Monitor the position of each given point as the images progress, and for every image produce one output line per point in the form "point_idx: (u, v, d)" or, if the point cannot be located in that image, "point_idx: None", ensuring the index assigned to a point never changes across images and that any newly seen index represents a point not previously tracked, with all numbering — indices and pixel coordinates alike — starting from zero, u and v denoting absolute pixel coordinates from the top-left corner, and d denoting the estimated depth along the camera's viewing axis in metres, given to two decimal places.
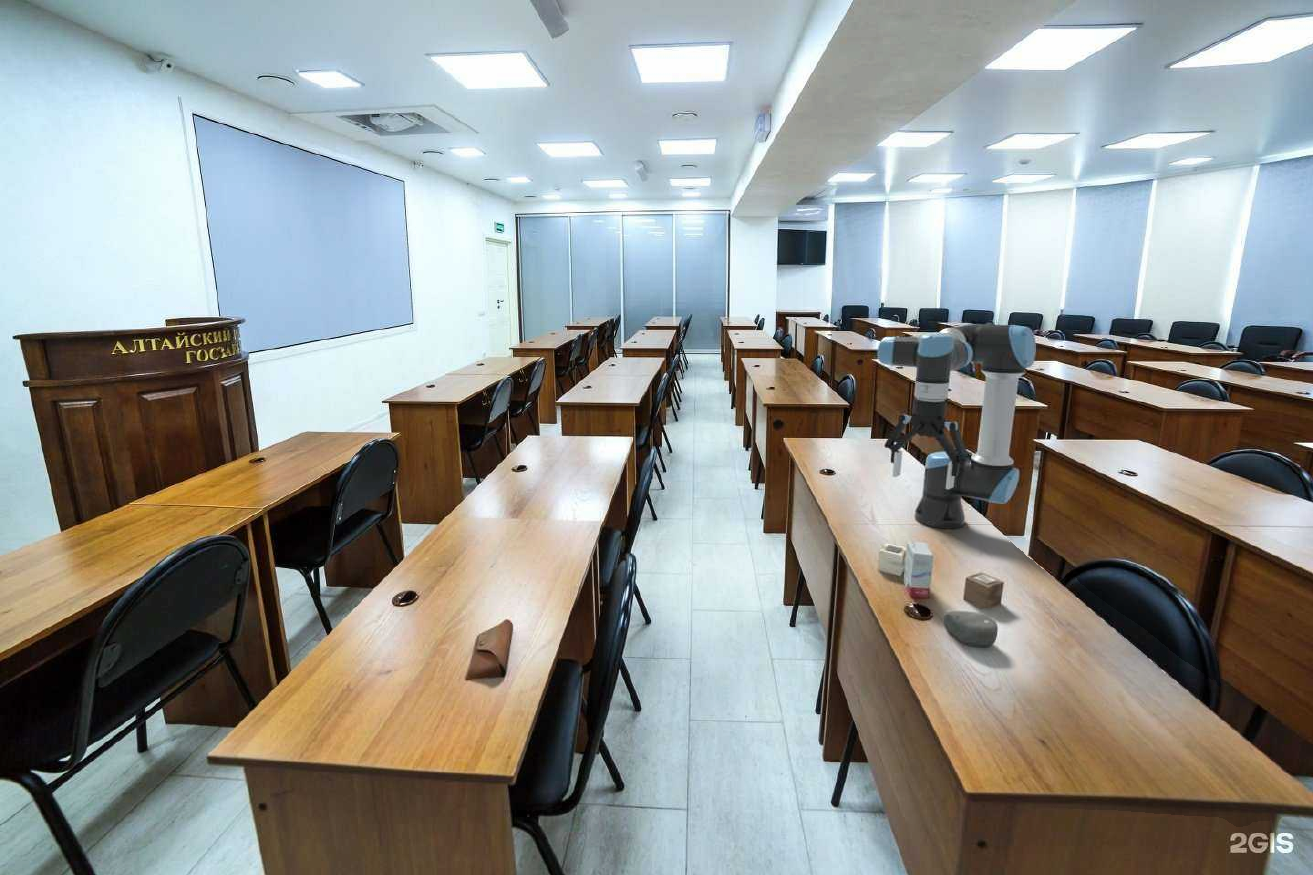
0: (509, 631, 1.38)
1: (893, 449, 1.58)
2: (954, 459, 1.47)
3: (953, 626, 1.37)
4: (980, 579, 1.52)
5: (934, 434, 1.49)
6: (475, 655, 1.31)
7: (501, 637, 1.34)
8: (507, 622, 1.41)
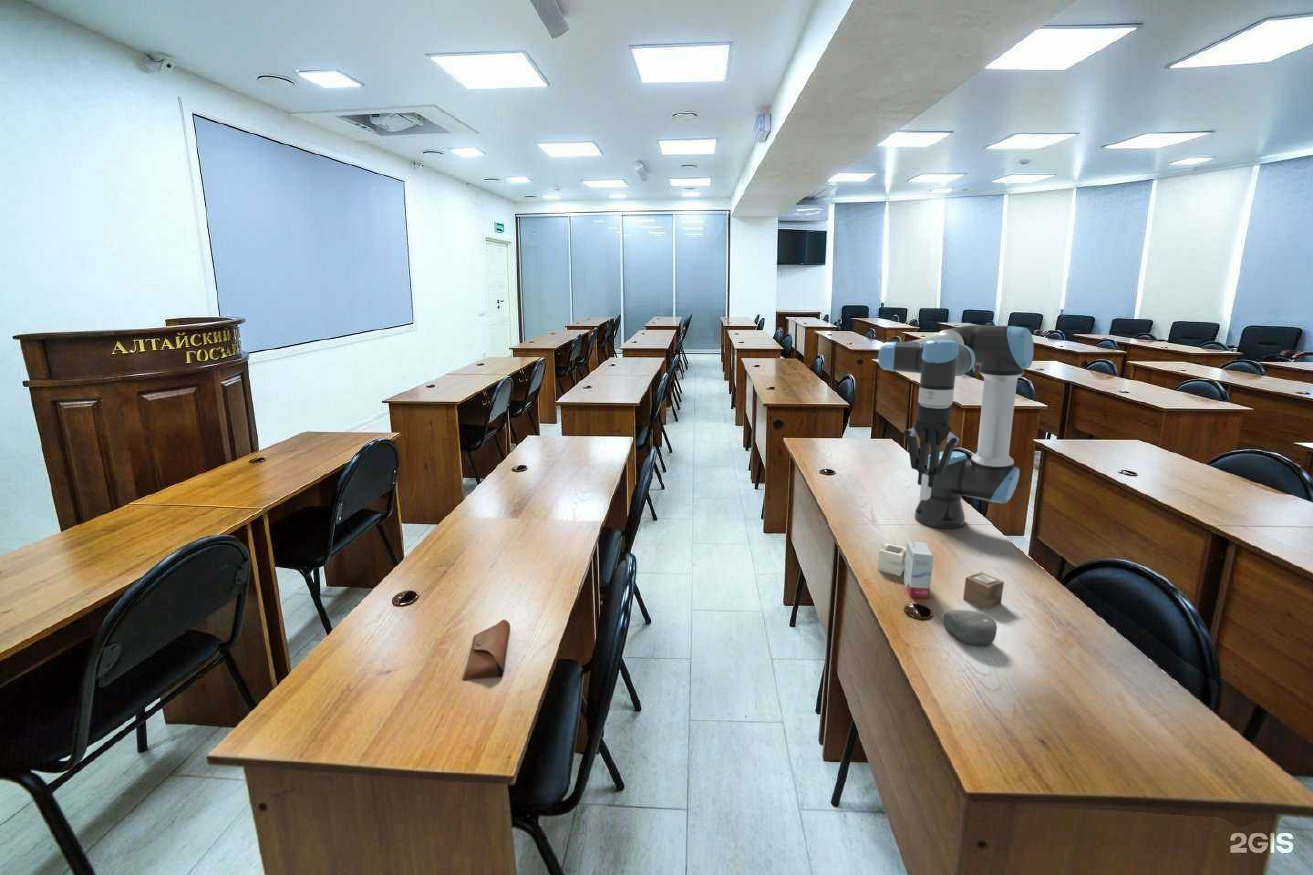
0: (506, 631, 1.38)
1: (920, 470, 1.52)
2: (932, 471, 1.50)
3: (953, 625, 1.38)
4: (980, 579, 1.52)
5: (932, 442, 1.48)
6: (472, 655, 1.31)
7: (498, 638, 1.34)
8: (504, 622, 1.41)
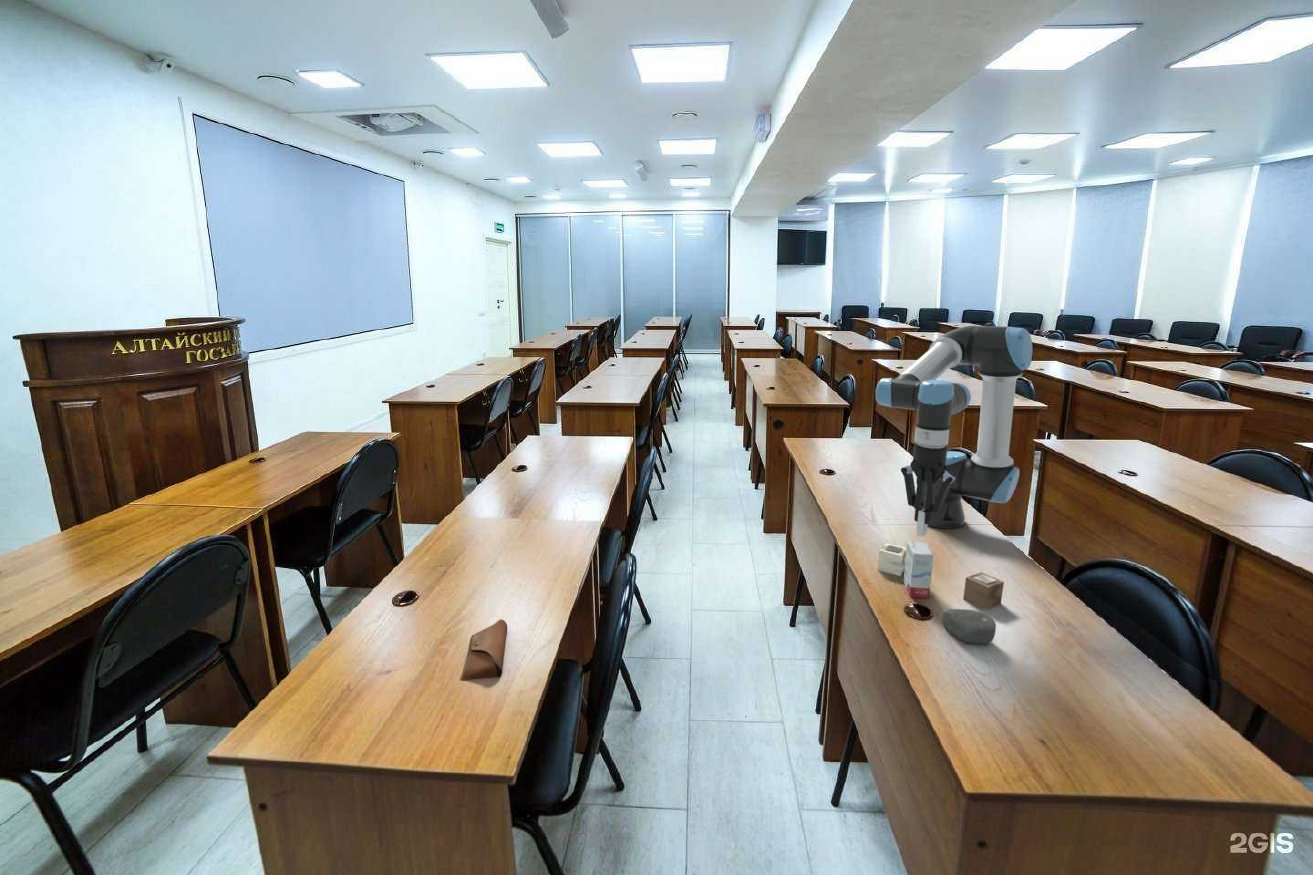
0: (504, 631, 1.38)
1: (917, 507, 1.54)
2: (928, 509, 1.52)
3: (952, 625, 1.38)
4: (980, 579, 1.52)
5: (928, 480, 1.50)
6: (470, 656, 1.30)
7: (496, 637, 1.34)
8: (502, 622, 1.41)
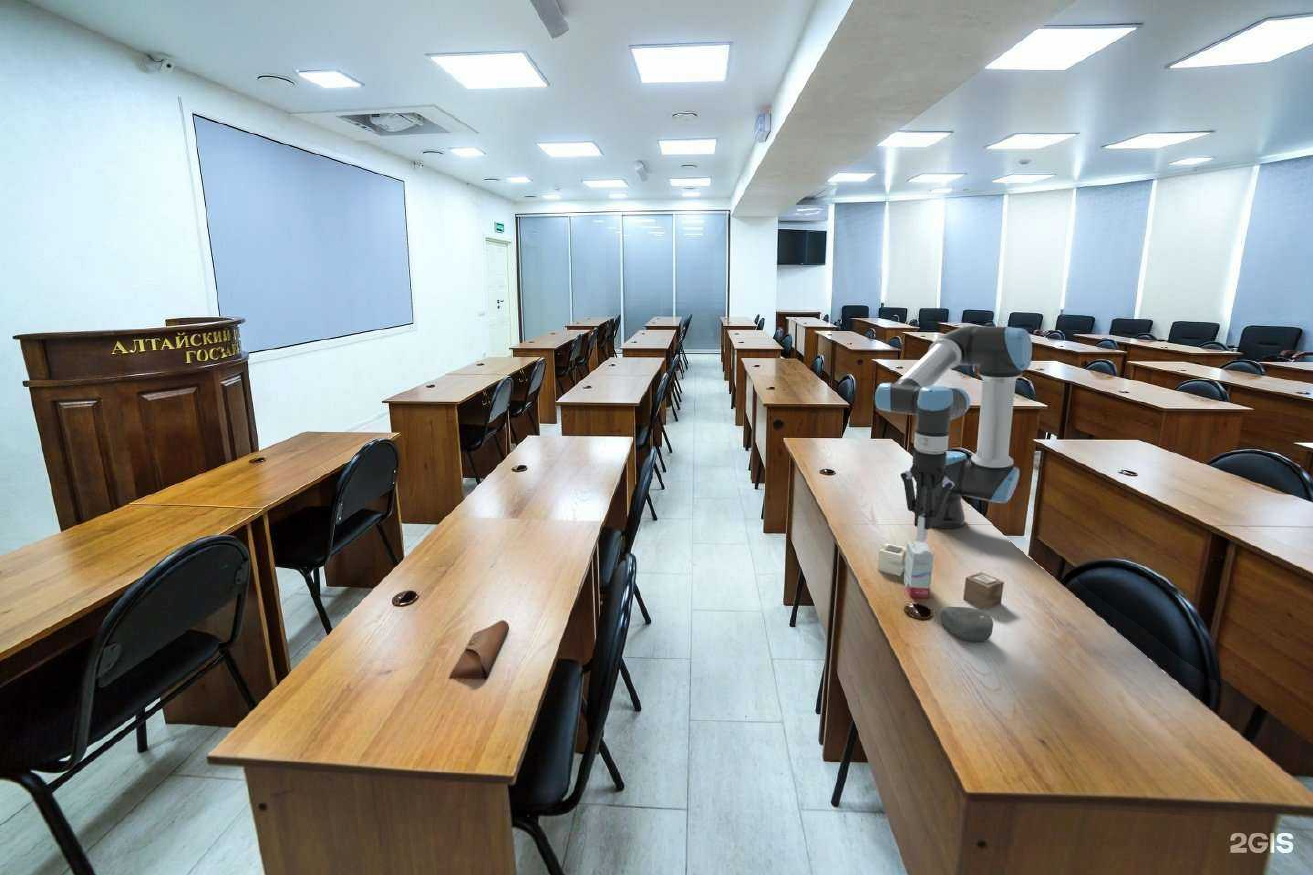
0: (502, 632, 1.37)
1: (917, 512, 1.55)
2: (928, 514, 1.53)
3: (950, 622, 1.39)
4: (980, 579, 1.52)
5: (928, 486, 1.51)
6: (463, 654, 1.31)
7: (491, 639, 1.34)
8: (502, 623, 1.40)
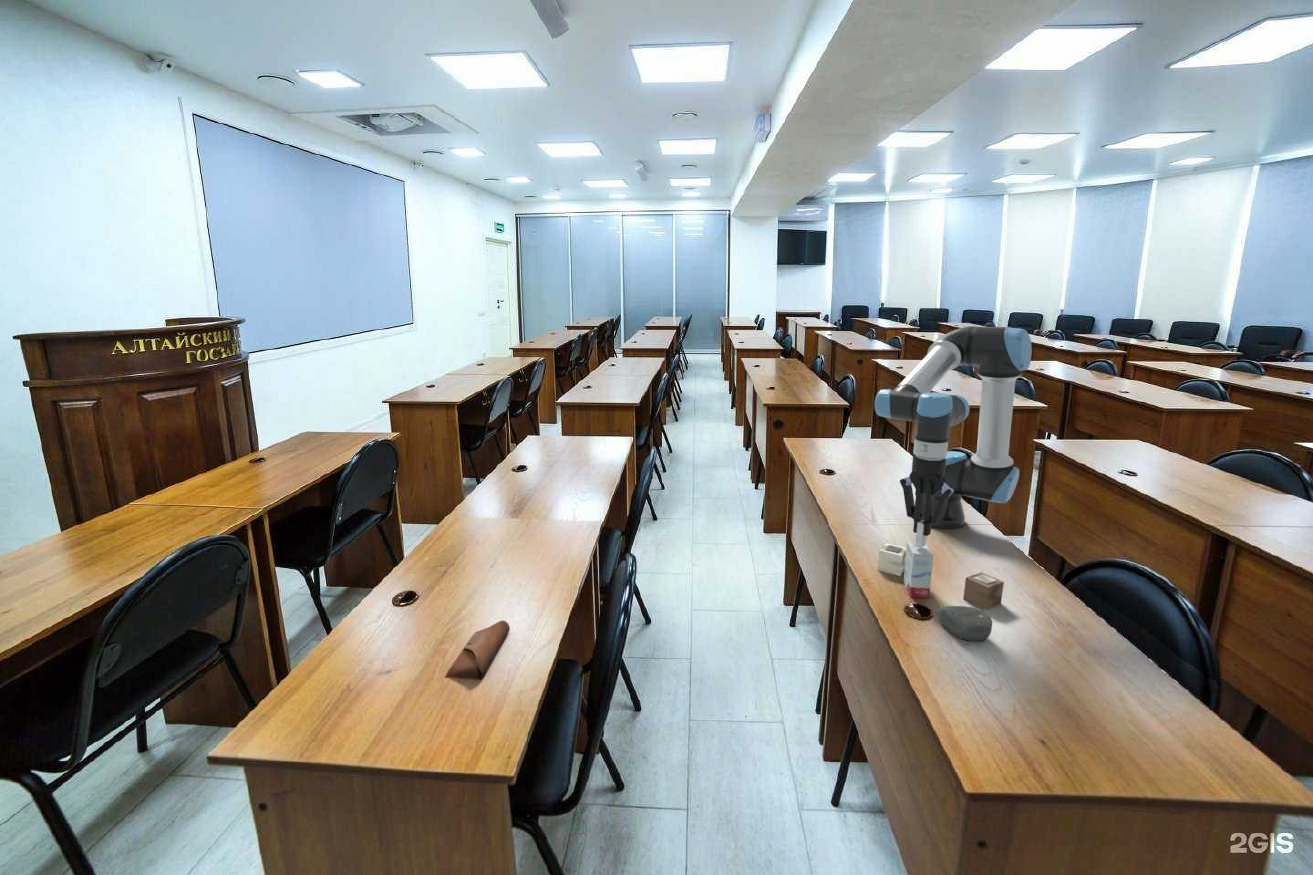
0: (501, 633, 1.37)
1: (916, 518, 1.55)
2: (927, 520, 1.53)
3: (949, 621, 1.39)
4: (980, 579, 1.52)
5: (927, 492, 1.51)
6: (461, 653, 1.31)
7: (489, 639, 1.33)
8: (503, 623, 1.40)
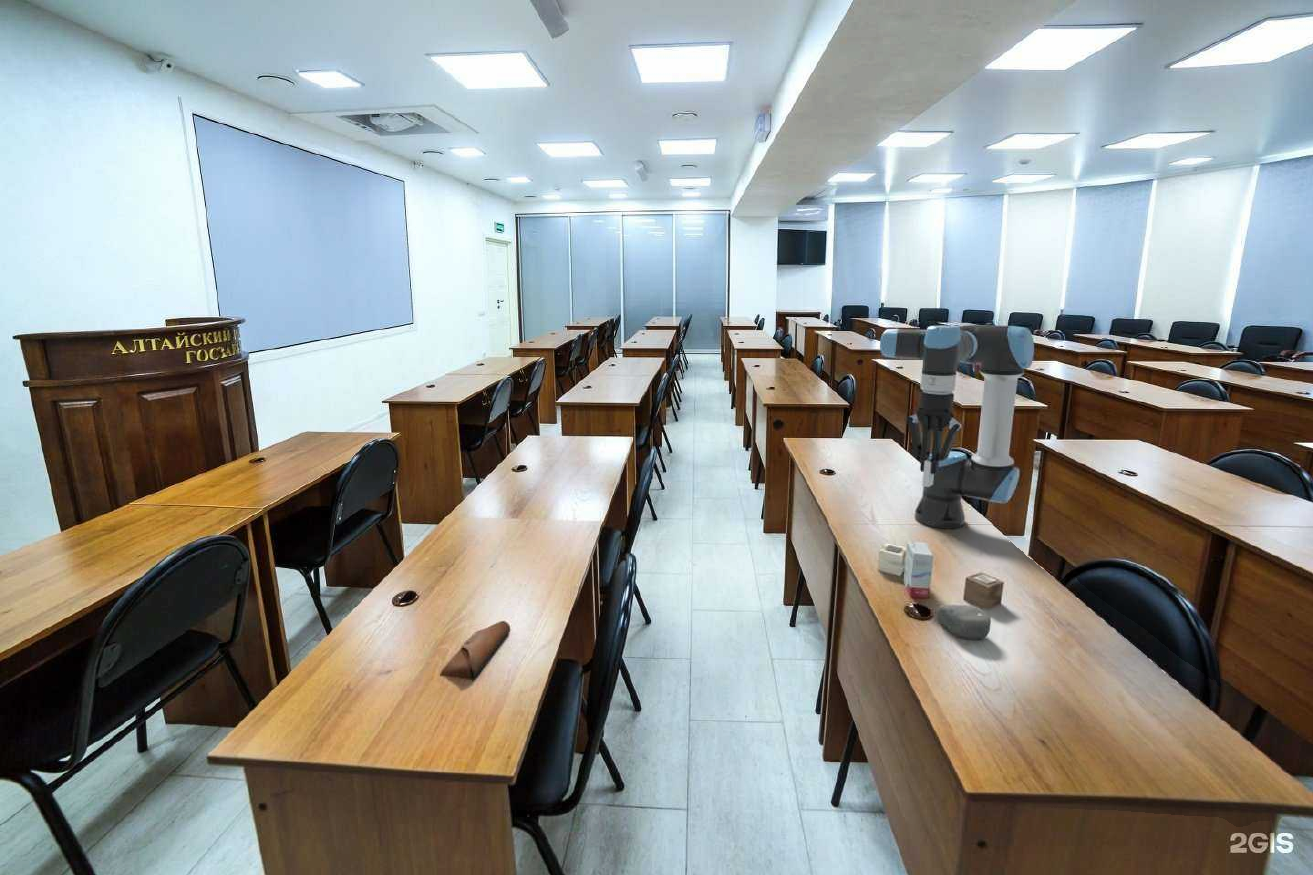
0: (500, 634, 1.37)
1: (923, 457, 1.51)
2: (934, 458, 1.49)
3: (948, 620, 1.40)
4: (980, 579, 1.52)
5: (934, 428, 1.47)
6: (458, 652, 1.32)
7: (486, 639, 1.33)
8: (503, 624, 1.40)
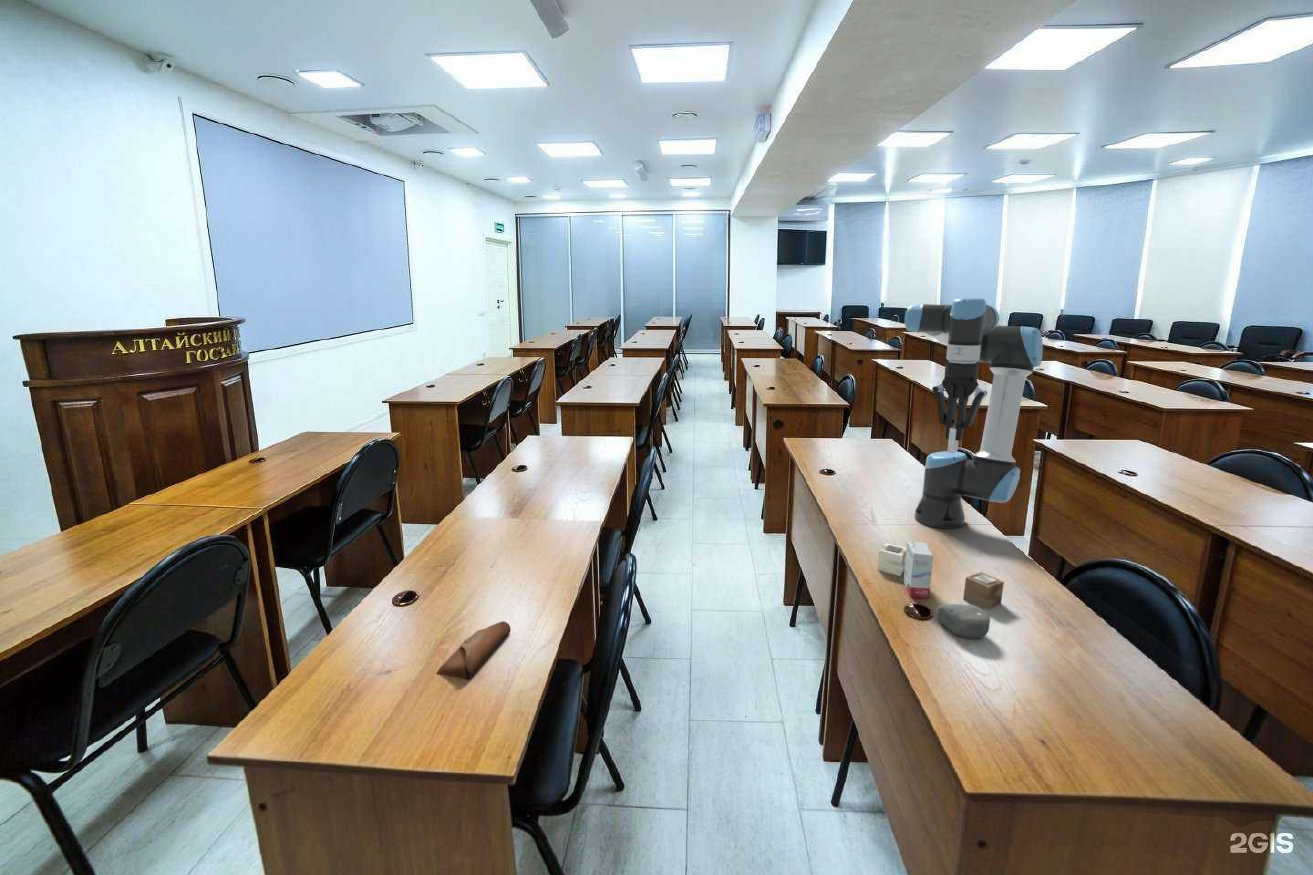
0: (499, 634, 1.37)
1: (948, 424, 1.59)
2: (959, 425, 1.57)
3: (947, 620, 1.40)
4: (980, 579, 1.52)
5: (960, 396, 1.55)
6: (456, 651, 1.32)
7: (484, 639, 1.33)
8: (503, 624, 1.40)
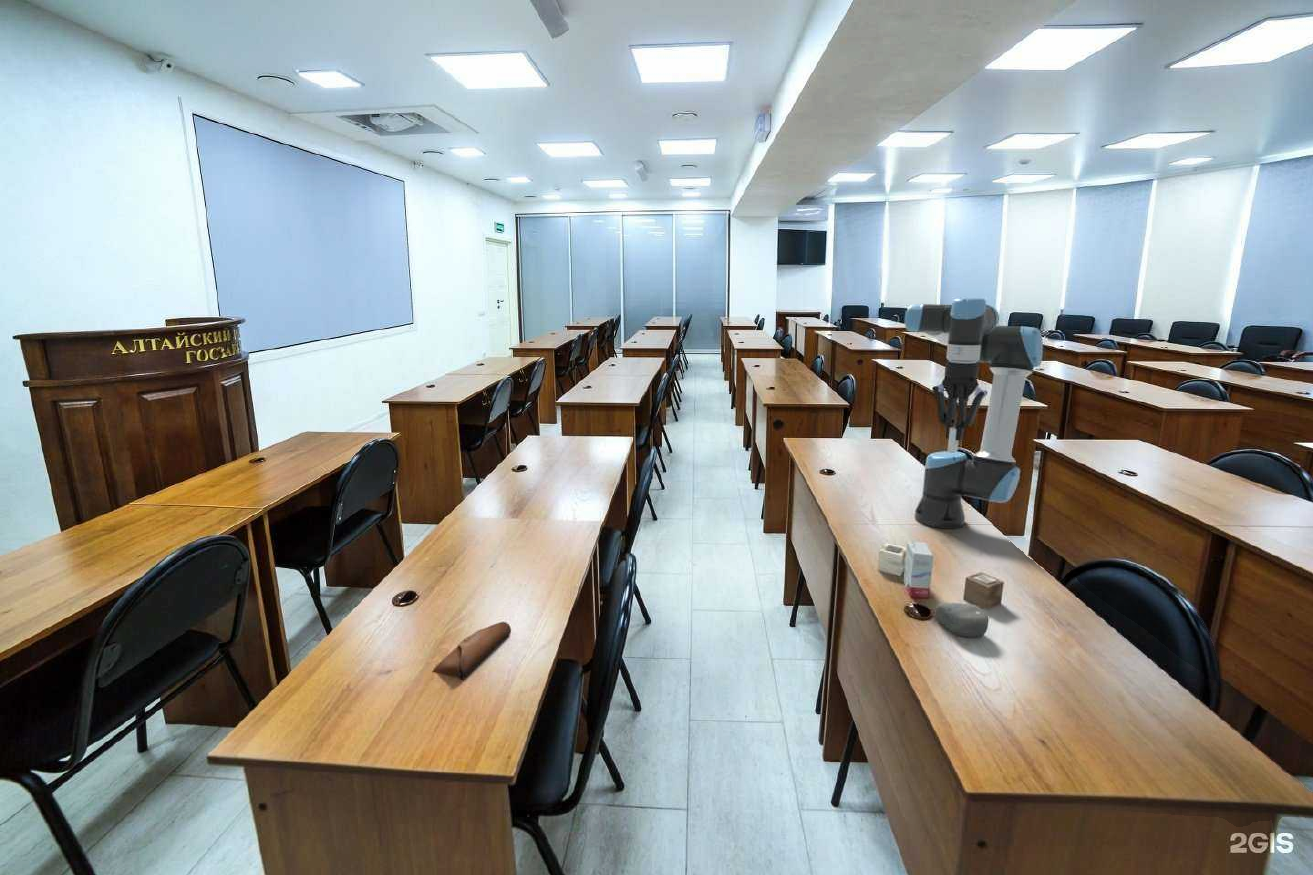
0: (498, 634, 1.37)
1: (948, 424, 1.59)
2: (959, 425, 1.57)
3: (946, 618, 1.40)
4: (980, 579, 1.52)
5: (960, 396, 1.55)
6: (454, 650, 1.33)
7: (482, 639, 1.33)
8: (503, 625, 1.40)
